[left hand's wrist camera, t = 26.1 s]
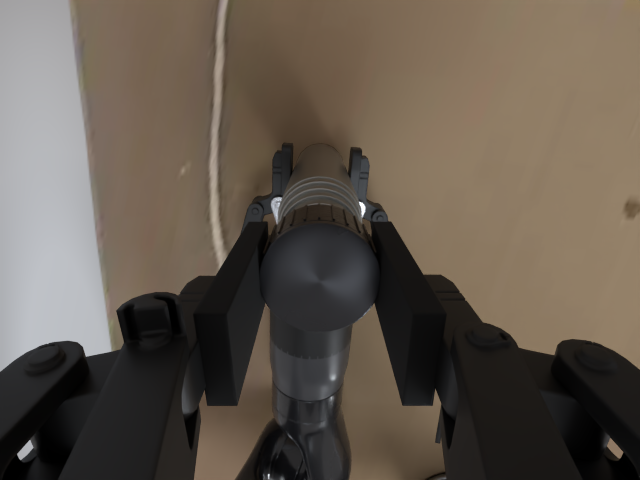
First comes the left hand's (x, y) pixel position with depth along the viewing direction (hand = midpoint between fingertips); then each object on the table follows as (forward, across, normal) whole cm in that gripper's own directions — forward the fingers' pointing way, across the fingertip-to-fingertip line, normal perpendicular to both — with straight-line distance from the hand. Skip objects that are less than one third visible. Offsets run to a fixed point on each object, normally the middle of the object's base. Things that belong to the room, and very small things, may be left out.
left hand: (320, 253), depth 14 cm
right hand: (+14, 0, -3) cm, 14 cm away
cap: (-2, 0, 0) cm, 2 cm away
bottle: (+20, 0, 0) cm, 20 cm away
